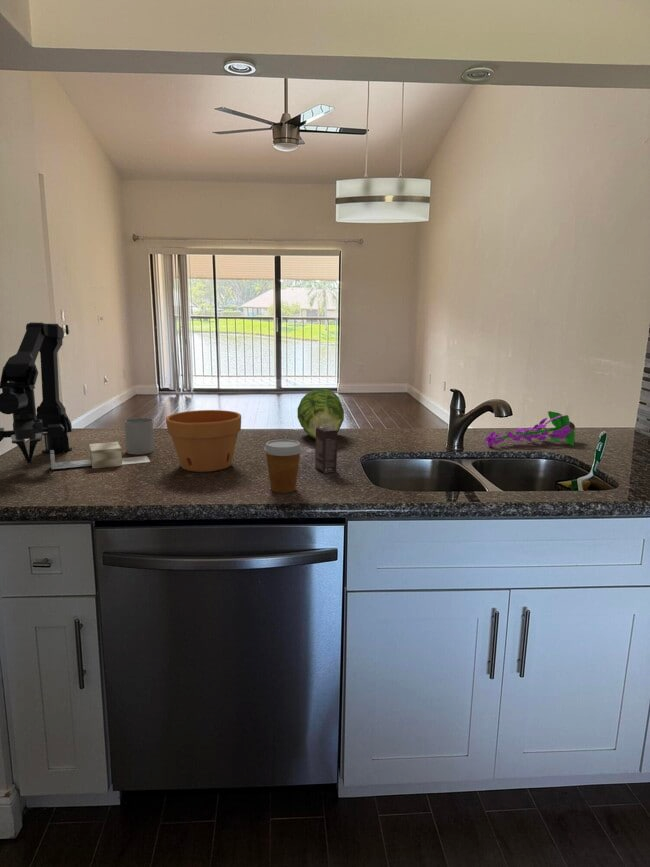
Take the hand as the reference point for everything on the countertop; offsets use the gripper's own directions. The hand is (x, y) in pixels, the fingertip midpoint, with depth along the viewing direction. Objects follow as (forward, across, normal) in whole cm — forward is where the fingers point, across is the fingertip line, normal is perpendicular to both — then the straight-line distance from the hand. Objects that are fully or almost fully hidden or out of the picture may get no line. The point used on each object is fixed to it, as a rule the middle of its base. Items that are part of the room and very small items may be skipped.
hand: (29, 463), depth 162 cm
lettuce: (+2, +92, +6) cm, 92 cm away
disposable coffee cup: (+2, +59, -43) cm, 73 cm away
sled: (+2, +14, 0) cm, 14 cm away
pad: (+2, +28, 0) cm, 28 cm away
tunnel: (+2, +20, 0) cm, 20 cm away
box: (+2, +76, -31) cm, 83 cm away
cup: (+2, +31, +11) cm, 33 cm away
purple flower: (+3, +155, -30) cm, 158 cm away
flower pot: (+2, +46, -13) cm, 48 cm away
